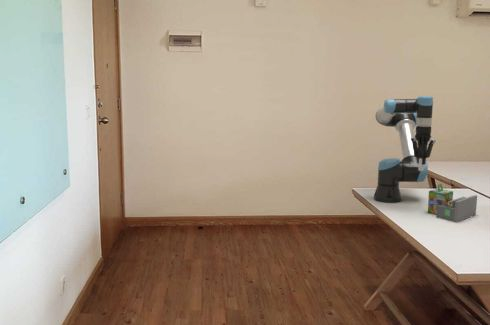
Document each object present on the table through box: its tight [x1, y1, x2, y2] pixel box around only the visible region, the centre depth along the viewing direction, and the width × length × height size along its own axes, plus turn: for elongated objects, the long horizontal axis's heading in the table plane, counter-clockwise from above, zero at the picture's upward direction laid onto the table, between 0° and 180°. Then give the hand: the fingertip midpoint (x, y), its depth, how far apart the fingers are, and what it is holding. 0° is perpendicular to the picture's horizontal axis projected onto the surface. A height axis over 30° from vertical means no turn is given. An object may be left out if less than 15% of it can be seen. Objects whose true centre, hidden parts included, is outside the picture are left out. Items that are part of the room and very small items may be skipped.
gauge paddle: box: [448, 196, 467, 208], centre depth 229 cm, size 1×16×8 cm, turn 128°
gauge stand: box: [435, 194, 478, 223], centre depth 230 cm, size 11×20×10 cm, turn 128°
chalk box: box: [427, 183, 454, 215], centre depth 236 cm, size 9×9×15 cm
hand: (421, 170), depth 243 cm, fingers closed
